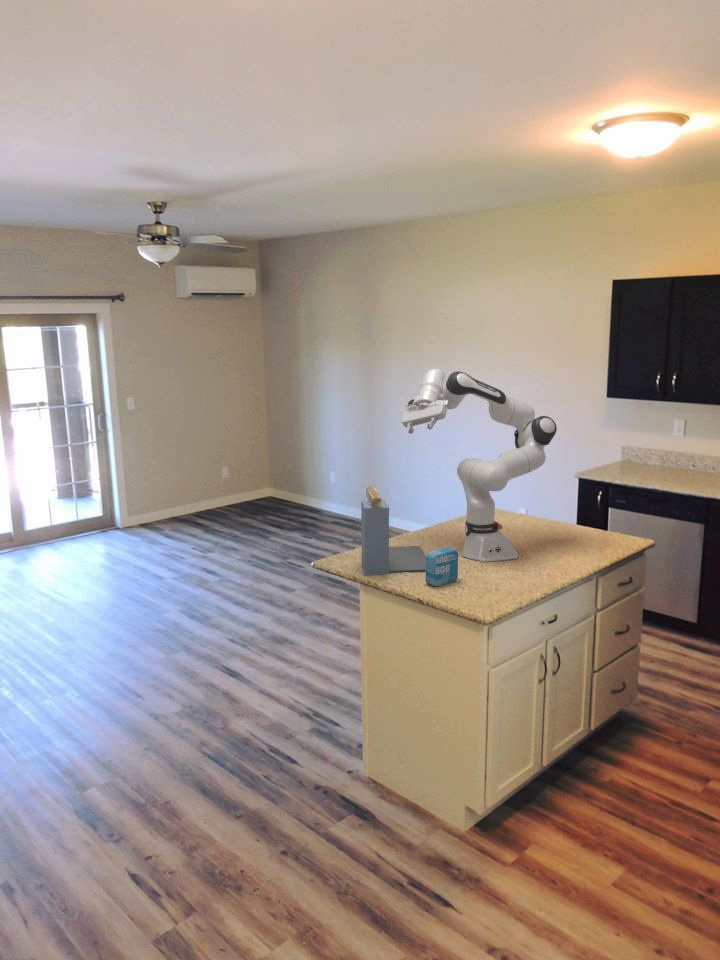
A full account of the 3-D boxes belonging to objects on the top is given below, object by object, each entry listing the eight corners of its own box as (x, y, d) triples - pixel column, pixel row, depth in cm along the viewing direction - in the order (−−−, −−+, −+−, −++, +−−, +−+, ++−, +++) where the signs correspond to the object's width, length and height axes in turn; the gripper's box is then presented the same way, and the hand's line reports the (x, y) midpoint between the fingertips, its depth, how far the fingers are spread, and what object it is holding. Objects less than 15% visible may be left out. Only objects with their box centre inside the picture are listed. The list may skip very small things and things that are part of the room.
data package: (433, 587, 268) (433, 555, 266) (425, 584, 272) (425, 552, 269) (457, 580, 275) (458, 549, 272) (449, 577, 279) (450, 546, 276)
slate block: (384, 564, 293) (384, 500, 288) (388, 574, 282) (389, 507, 276) (361, 565, 292) (361, 500, 287) (364, 575, 281) (364, 508, 275)
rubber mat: (419, 548, 314) (419, 545, 314) (433, 571, 285) (433, 569, 285) (379, 549, 312) (379, 547, 312) (389, 573, 283) (389, 570, 283)
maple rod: (374, 495, 296) (374, 486, 295) (381, 507, 276) (381, 498, 276) (366, 495, 296) (366, 486, 295) (372, 507, 276) (372, 498, 275)
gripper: (452, 402, 298) (445, 430, 291) (411, 412, 311) (404, 439, 305) (444, 392, 294) (437, 420, 288) (403, 403, 308) (395, 430, 301)
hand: (419, 430), depth 296 cm, fingers open, 8 cm apart
